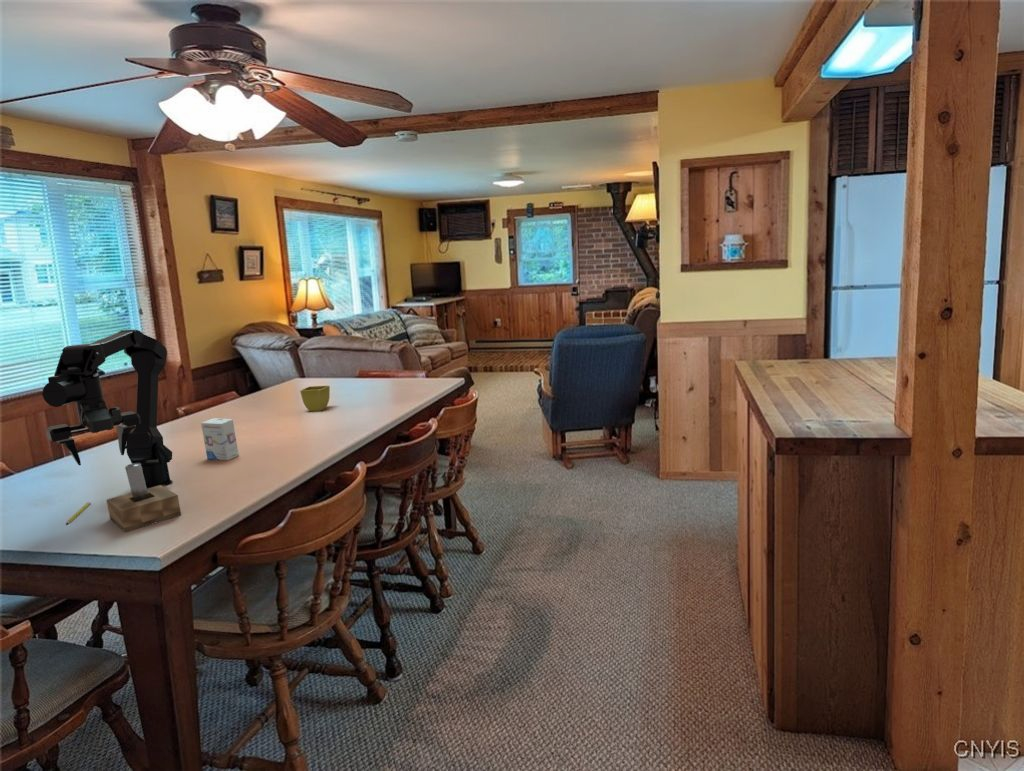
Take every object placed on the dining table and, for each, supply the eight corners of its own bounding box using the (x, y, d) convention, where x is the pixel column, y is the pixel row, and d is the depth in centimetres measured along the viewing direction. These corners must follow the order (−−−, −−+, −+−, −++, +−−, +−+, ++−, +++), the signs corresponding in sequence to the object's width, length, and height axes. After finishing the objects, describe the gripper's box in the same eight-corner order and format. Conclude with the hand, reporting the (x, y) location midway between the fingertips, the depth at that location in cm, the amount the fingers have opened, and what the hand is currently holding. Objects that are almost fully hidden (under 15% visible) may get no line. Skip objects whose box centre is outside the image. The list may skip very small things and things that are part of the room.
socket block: (164, 503, 163) (160, 484, 162) (181, 514, 155) (177, 494, 154) (110, 519, 155) (106, 499, 154) (125, 532, 146) (121, 511, 145)
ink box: (205, 459, 200) (199, 422, 198) (218, 454, 205) (212, 418, 203) (227, 460, 197) (221, 422, 195) (239, 455, 202) (234, 418, 200)
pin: (149, 508, 157) (138, 461, 154) (154, 511, 155) (142, 464, 152) (135, 513, 155) (123, 466, 152) (139, 516, 152) (127, 468, 150)
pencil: (64, 527, 153) (63, 523, 153) (87, 505, 166) (86, 502, 166) (68, 526, 153) (67, 522, 153) (91, 505, 167) (90, 501, 166)
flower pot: (312, 407, 265) (309, 385, 263) (332, 406, 264) (329, 385, 262) (302, 412, 256) (299, 390, 255) (323, 412, 255) (320, 389, 253)
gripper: (49, 409, 143) (63, 477, 147) (142, 393, 156) (153, 455, 159) (39, 403, 151) (53, 468, 154) (128, 388, 164) (139, 448, 167)
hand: (101, 459), depth 159 cm, fingers open, 9 cm apart
